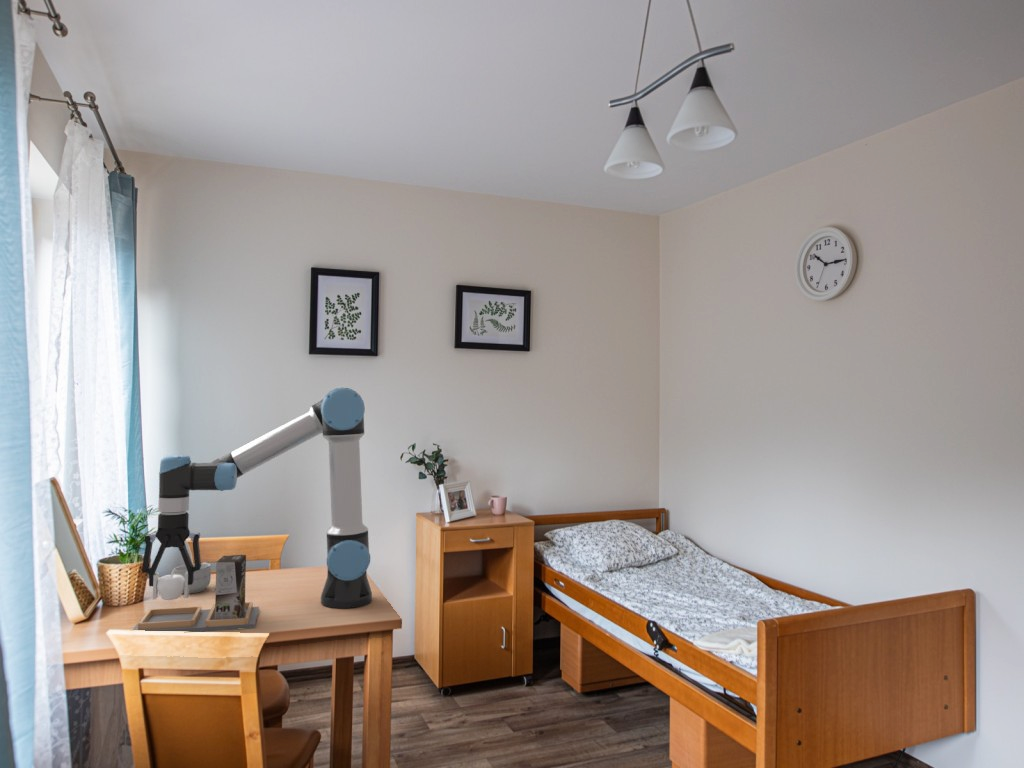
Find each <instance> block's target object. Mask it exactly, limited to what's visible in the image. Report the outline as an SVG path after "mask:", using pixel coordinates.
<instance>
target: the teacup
mask: <svg viewBox="0 0 1024 768" xmlns="http://www.w3.org/2000/svg"><path fill="white" fill-rule="evenodd" d="M192 564H193V566H195V562H194V563H193V562H192ZM211 565H212V564H211V563H208V562H207V561H204V562H201V568H200V569H199V570H198V571H195V572H194V580H193V584H192V585H189V594H195V593H199V592H203V591H204V590H206V588H207V587H209V585H210V583H211V579H212V578H211V574H212V573H211ZM174 568H175V570H174V572H173V575H174V574H175V575H182V576H183V577H184V578H185V573H186V572H188V570H187V568H186V565H185V564H181V565H179V566H176V567H174ZM184 589H185V588H184ZM182 594H184V590H183V593H182Z"/></svg>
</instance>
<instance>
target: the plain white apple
mask: <svg viewBox="0 0 1024 768" xmlns="http://www.w3.org/2000/svg"><path fill="white" fill-rule="evenodd" d="M175 568H176V567H174V568H173V569H172V571H171V573H170V574H166V575H163V576H161V577H160V578H158V582H157V590H158V595H160V597H161V599H162V600H164V601H174V600H177V599H179V598H181V596H182V594H183V593H182V592H183V590H184V588H185V578H184V577H183V576H182V575H175V574H174V570H175Z"/></svg>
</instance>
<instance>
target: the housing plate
mask: <svg viewBox="0 0 1024 768" xmlns="http://www.w3.org/2000/svg"><path fill="white" fill-rule="evenodd" d="M253 604H254V602H253V601H251V602H250V601H245V612H244V613H243V614H242V616H241V617H240V618H237V619H221V620H215V603H214V604H213V605H212V606H211V609H202V608H203V607H202V606H198V605H197V606H180V607H178V606H177V607H163V608H151V609H150V608H149V609H148V610H147V611H146V612H145V614H144V615H142V617H141V618H140V620H139V621H138V622H137V624H136V625H134V627H133V628H132V630H145V631H199V632H211V631H212V632H213V631H226V630H227V631H228V630H239V629H238V628H245V629H254V628H255V627H256V623H257V619H258V615H259V610H260V607H259V606H254V605H253Z"/></svg>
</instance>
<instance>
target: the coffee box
mask: <svg viewBox="0 0 1024 768" xmlns="http://www.w3.org/2000/svg"><path fill="white" fill-rule="evenodd" d="M246 564H247V555H246V554H232V555H222V557H221V558H219V559H218V560H217V561H216V565H215V570H216V571H215V598H214V599H215V600H214V604H215V620H221V619H237V618H240V617H241V616H242V614H243V613H244V612H245V602H246V580H247V579H246V577H247V576H246V575H247V574H246V572H247V571H246V570H247V567H246V566H247V565H246Z"/></svg>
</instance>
